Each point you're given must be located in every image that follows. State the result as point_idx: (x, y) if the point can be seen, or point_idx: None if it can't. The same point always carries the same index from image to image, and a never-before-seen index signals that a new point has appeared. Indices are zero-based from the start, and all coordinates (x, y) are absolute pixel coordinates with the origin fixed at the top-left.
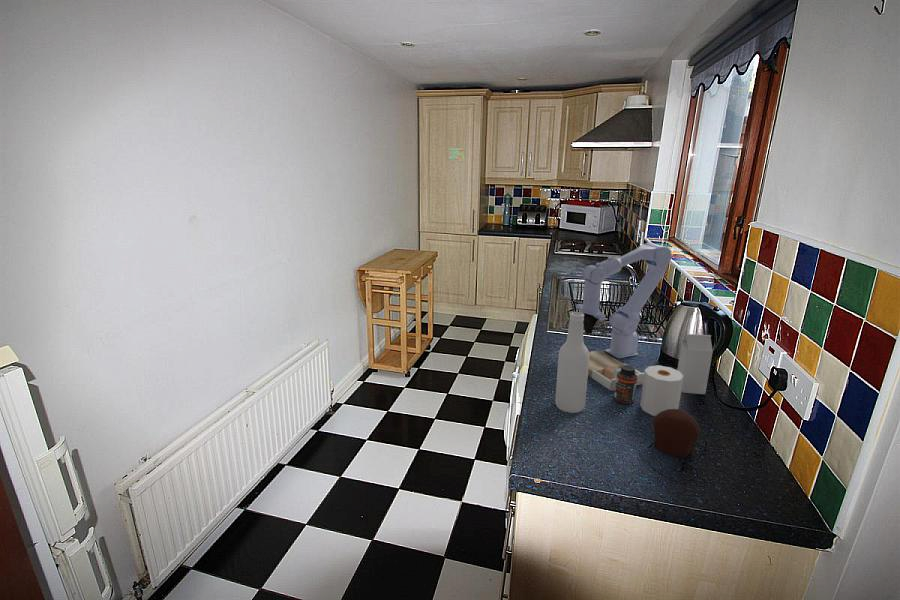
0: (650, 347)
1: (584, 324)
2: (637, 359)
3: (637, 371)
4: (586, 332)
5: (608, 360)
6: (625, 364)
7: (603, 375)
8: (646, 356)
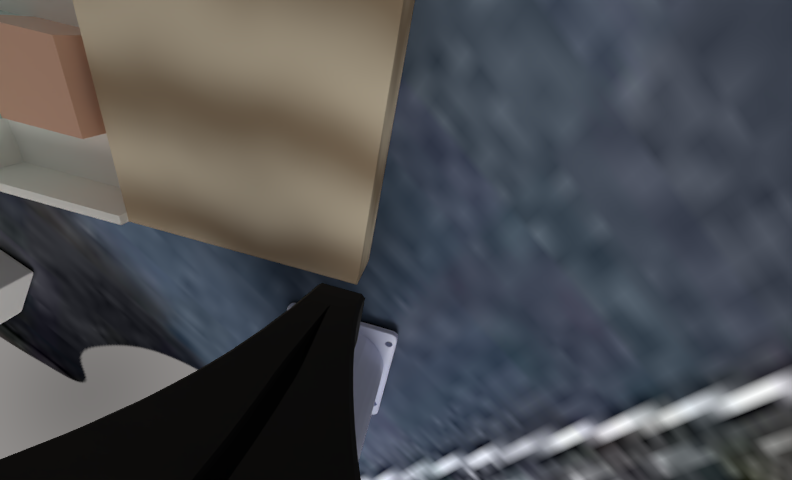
0: None
1: (321, 380)
2: None
3: (16, 188)
4: (328, 291)
5: (204, 196)
6: (108, 214)
7: None
8: None
